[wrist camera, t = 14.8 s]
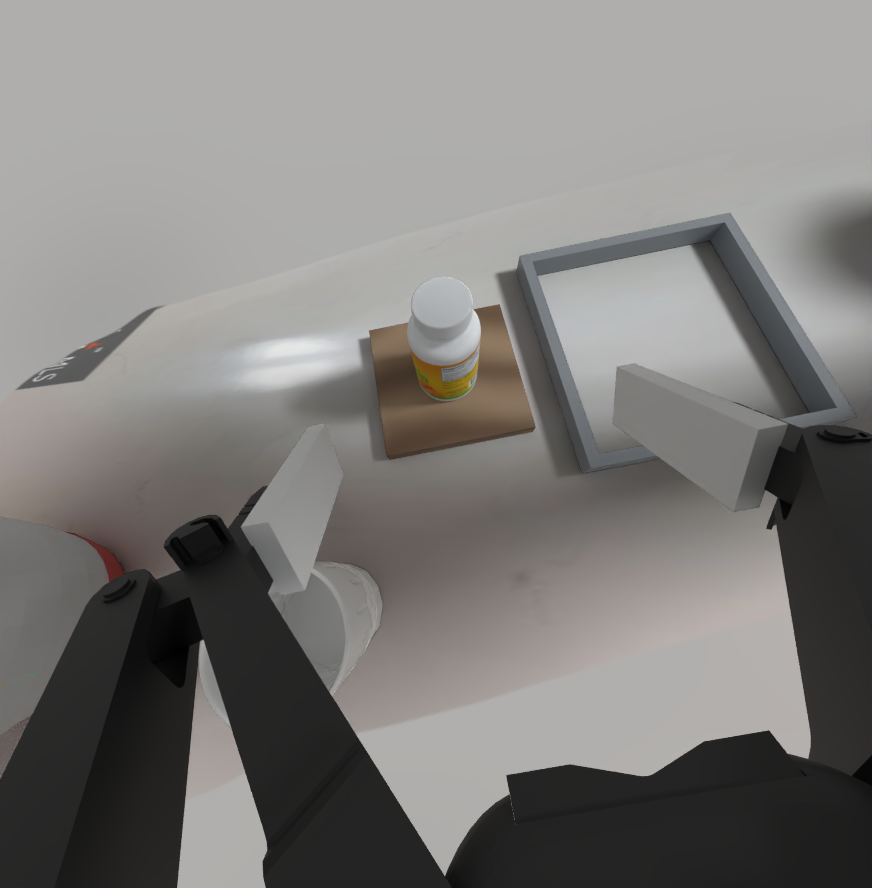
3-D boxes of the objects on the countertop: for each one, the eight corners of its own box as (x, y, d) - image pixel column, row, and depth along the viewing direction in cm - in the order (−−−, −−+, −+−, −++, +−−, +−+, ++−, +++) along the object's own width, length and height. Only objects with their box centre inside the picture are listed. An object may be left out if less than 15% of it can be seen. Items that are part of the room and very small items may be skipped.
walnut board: (532, 431, 29) (535, 426, 28) (389, 459, 30) (386, 456, 28) (498, 312, 33) (499, 304, 32) (372, 338, 34) (369, 330, 32)
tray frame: (829, 425, 28) (857, 416, 26) (582, 473, 28) (590, 468, 26) (715, 231, 34) (730, 212, 32) (516, 271, 35) (519, 255, 33)
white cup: (363, 537, 28) (311, 533, 18) (408, 629, 25) (376, 678, 16) (278, 588, 27) (179, 611, 18) (317, 687, 25) (226, 775, 15)
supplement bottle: (410, 362, 31) (388, 284, 22) (463, 342, 31) (464, 256, 22) (430, 411, 29) (415, 349, 20) (486, 390, 30) (497, 318, 20)
